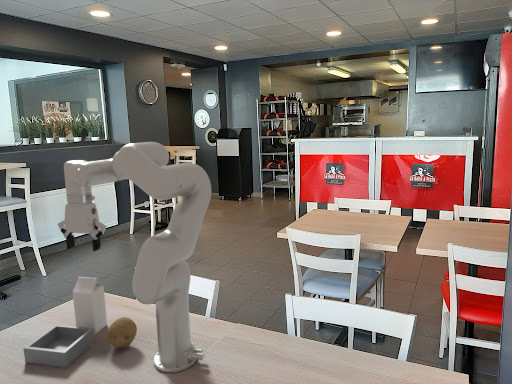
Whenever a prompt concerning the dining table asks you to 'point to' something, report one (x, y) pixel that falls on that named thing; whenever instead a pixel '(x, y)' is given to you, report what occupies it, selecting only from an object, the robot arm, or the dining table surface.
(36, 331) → the dining table surface
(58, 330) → the box
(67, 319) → the dining table surface
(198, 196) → the robot arm
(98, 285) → the milk carton
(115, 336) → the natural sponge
